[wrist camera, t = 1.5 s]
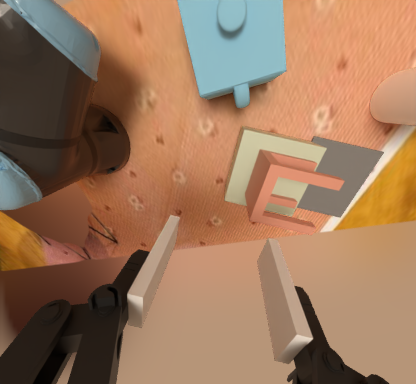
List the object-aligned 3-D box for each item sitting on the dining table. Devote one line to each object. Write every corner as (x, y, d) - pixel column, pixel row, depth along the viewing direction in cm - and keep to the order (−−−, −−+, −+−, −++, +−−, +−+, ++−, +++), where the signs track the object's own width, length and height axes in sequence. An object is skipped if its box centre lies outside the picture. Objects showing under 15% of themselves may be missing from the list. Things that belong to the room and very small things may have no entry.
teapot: (269, 99, 33) (293, 94, 20) (212, 115, 35) (203, 119, 23) (253, -75, 24) (278, -267, 12) (178, -39, 26) (133, -169, 14)
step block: (225, 186, 42) (224, 200, 35) (241, 125, 35) (244, 129, 29) (282, 199, 41) (291, 216, 35) (309, 140, 35) (326, 148, 29)
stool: (244, 193, 34) (249, 220, 26) (259, 148, 30) (270, 163, 22) (292, 205, 34) (311, 235, 26) (313, 161, 30) (344, 181, 22)
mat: (282, 203, 42) (283, 204, 42) (313, 136, 35) (314, 136, 34) (339, 216, 42) (340, 217, 41) (382, 151, 34) (384, 152, 34)
